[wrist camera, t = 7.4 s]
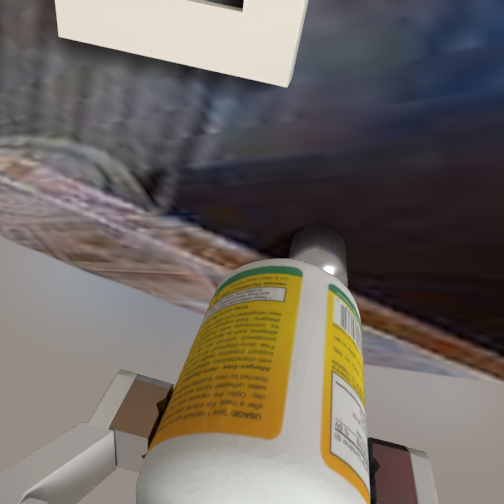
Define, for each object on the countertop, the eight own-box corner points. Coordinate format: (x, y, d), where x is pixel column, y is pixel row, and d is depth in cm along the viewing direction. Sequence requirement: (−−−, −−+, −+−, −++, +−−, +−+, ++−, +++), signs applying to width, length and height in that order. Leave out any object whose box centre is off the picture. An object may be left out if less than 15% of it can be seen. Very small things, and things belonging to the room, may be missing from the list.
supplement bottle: (390, 292, 13) (469, 758, 5) (315, 378, 16) (293, 749, 8) (243, 226, 12) (84, 620, 5) (196, 327, 16) (53, 666, 8)
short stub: (352, 230, 30) (356, 267, 26) (336, 274, 33) (337, 314, 29) (298, 217, 30) (292, 252, 26) (285, 261, 33) (279, 299, 29)
